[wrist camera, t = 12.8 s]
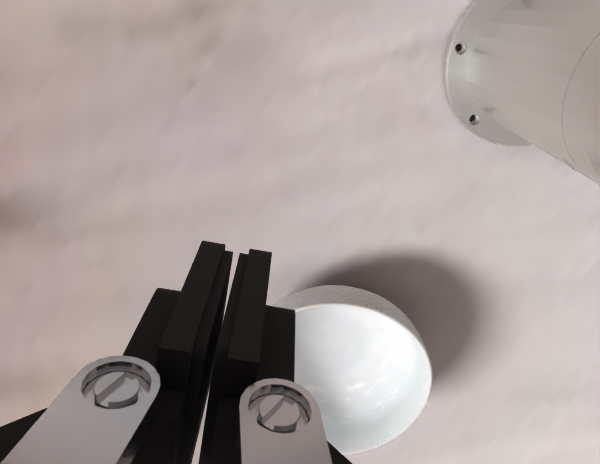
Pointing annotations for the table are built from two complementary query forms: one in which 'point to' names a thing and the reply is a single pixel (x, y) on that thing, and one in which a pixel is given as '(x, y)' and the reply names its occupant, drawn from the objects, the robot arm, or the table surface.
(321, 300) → the cereal bowl
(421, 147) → the table surface
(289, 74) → the table surface
